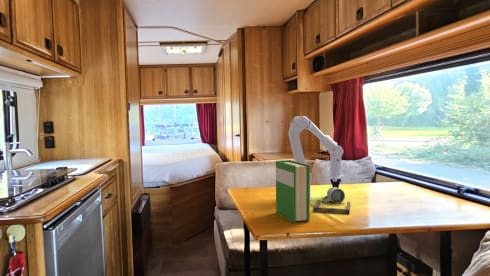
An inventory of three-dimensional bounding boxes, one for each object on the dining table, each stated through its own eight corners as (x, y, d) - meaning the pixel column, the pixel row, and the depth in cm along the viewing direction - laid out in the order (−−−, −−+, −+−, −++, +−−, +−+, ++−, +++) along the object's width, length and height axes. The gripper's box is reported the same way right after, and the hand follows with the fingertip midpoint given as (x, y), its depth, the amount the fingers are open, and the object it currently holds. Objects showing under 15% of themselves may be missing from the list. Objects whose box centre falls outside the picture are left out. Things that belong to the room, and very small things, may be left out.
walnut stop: (313, 211, 168) (313, 207, 168) (317, 203, 182) (317, 200, 182) (349, 214, 163) (349, 209, 163) (350, 206, 178) (350, 201, 178)
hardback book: (309, 221, 153) (309, 164, 151) (293, 223, 150) (293, 165, 149) (290, 211, 169) (290, 160, 168) (276, 212, 167) (275, 160, 165)
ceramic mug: (339, 199, 191) (339, 185, 191) (345, 203, 183) (345, 188, 182) (319, 200, 190) (319, 186, 190) (324, 204, 182) (324, 189, 182)
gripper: (342, 169, 186) (342, 195, 187) (344, 165, 200) (343, 190, 201) (328, 169, 188) (328, 195, 189) (330, 165, 202) (330, 189, 203)
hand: (335, 192), depth 195 cm, fingers closed
